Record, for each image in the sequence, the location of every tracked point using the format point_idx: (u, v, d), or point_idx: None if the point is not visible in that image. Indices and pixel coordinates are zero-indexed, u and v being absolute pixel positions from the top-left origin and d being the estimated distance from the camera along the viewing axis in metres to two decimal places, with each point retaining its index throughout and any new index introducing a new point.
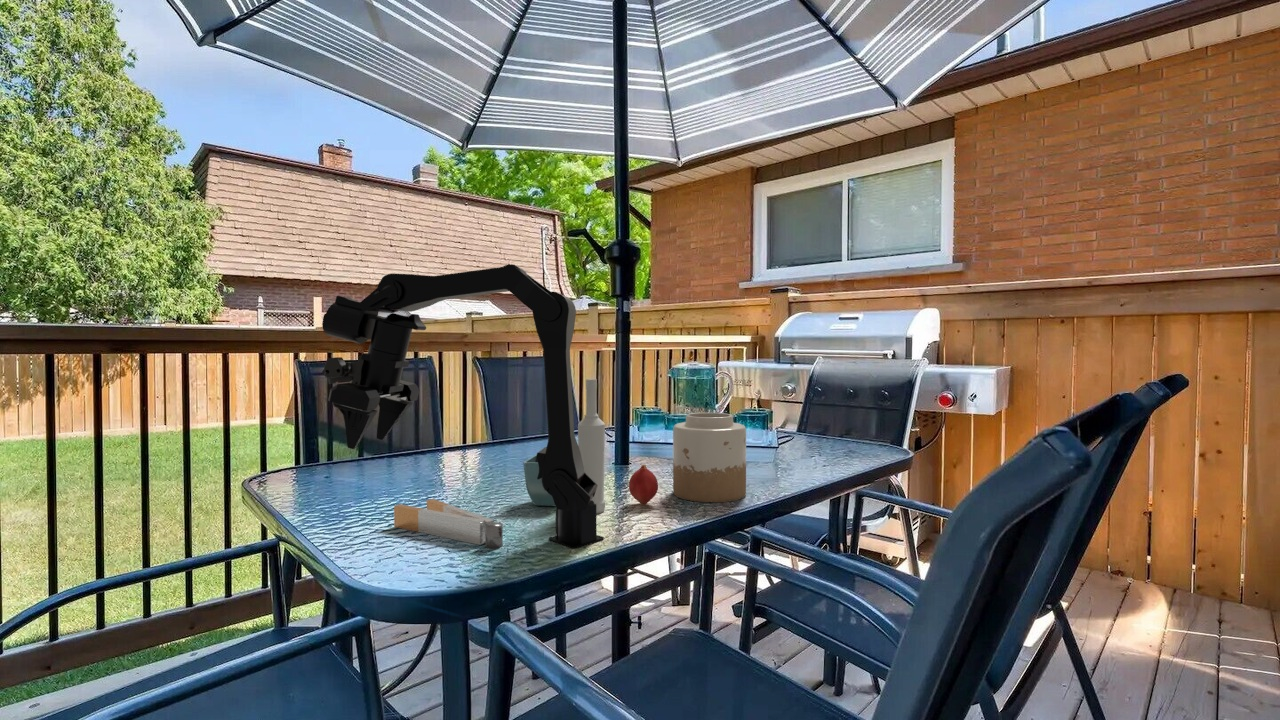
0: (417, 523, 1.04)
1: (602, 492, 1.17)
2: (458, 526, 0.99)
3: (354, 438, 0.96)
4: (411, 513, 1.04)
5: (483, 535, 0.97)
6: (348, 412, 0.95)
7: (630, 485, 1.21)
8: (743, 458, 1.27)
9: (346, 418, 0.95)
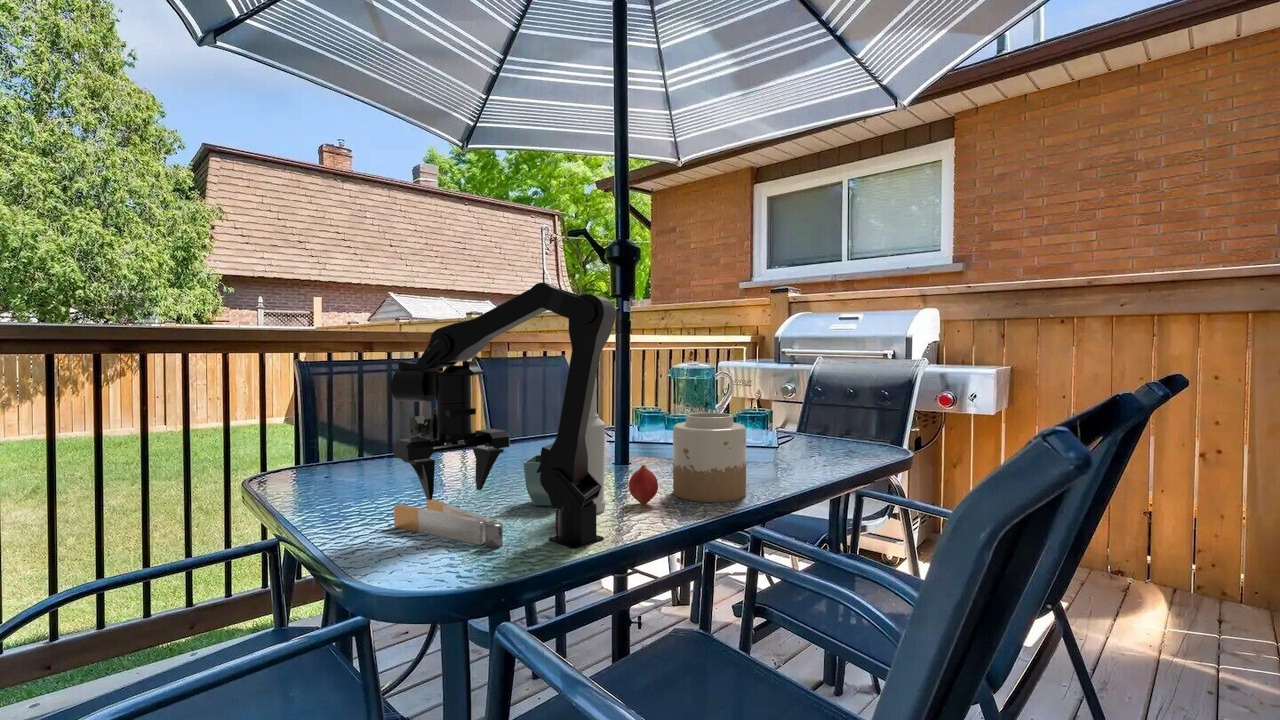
0: (417, 523, 1.04)
1: (602, 492, 1.17)
2: (458, 526, 0.99)
3: (426, 489, 1.00)
4: (411, 513, 1.04)
5: (483, 535, 0.97)
6: (416, 465, 1.01)
7: (630, 485, 1.21)
8: (743, 458, 1.27)
9: (416, 471, 1.01)
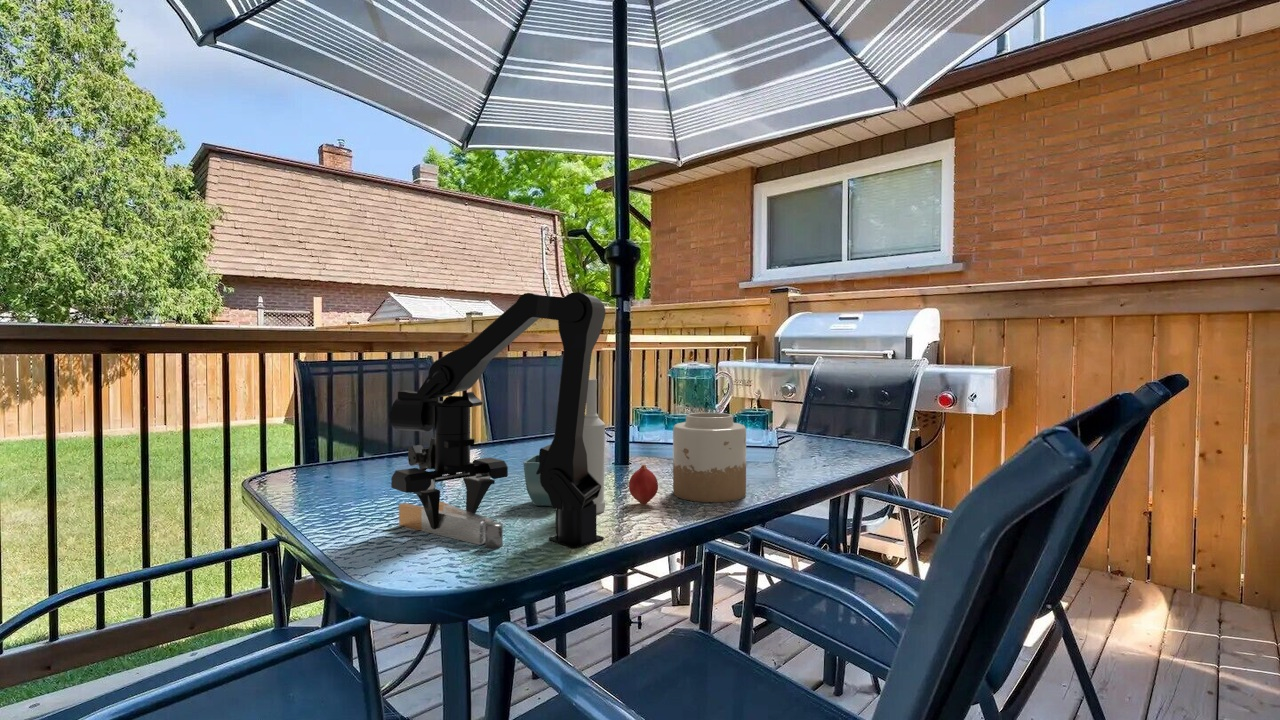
0: (420, 521, 1.05)
1: (602, 492, 1.17)
2: (459, 526, 0.99)
3: (431, 519, 1.01)
4: (415, 512, 1.05)
5: (483, 535, 0.97)
6: None
7: (630, 485, 1.21)
8: (743, 458, 1.27)
9: (422, 500, 1.02)
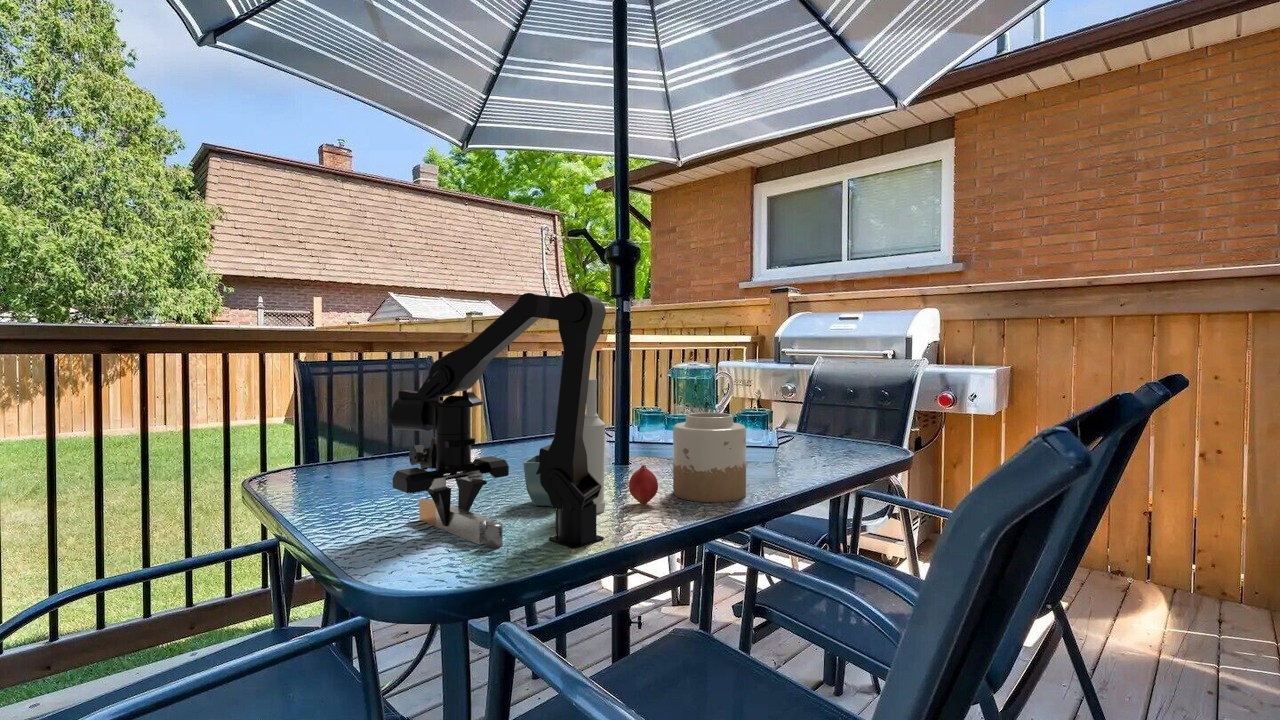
0: (434, 518, 1.07)
1: (602, 492, 1.17)
2: (463, 524, 1.00)
3: (442, 516, 1.03)
4: (431, 508, 1.08)
5: (483, 535, 0.97)
6: (433, 492, 1.03)
7: (630, 485, 1.21)
8: (743, 458, 1.27)
9: (433, 498, 1.03)
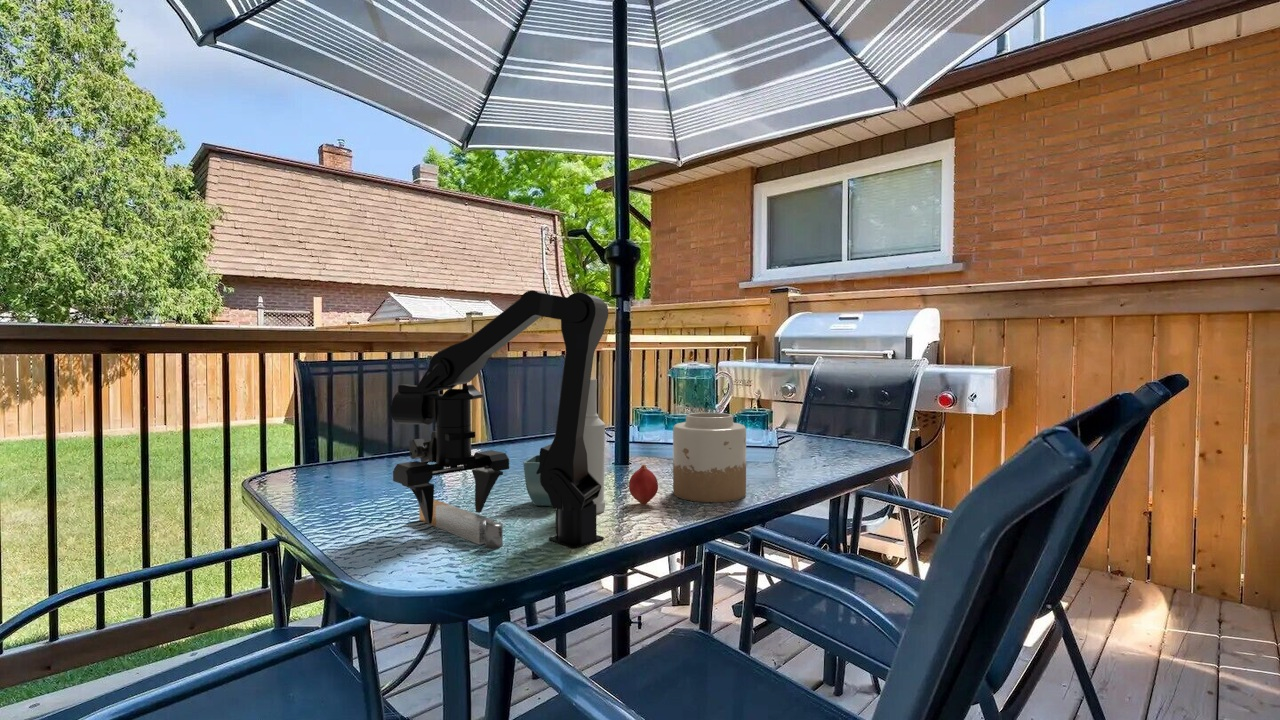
0: (434, 518, 1.07)
1: (602, 492, 1.17)
2: (463, 524, 1.00)
3: (426, 513, 1.01)
4: None
5: (483, 535, 0.97)
6: None
7: (630, 485, 1.21)
8: (743, 458, 1.27)
9: (416, 495, 1.01)
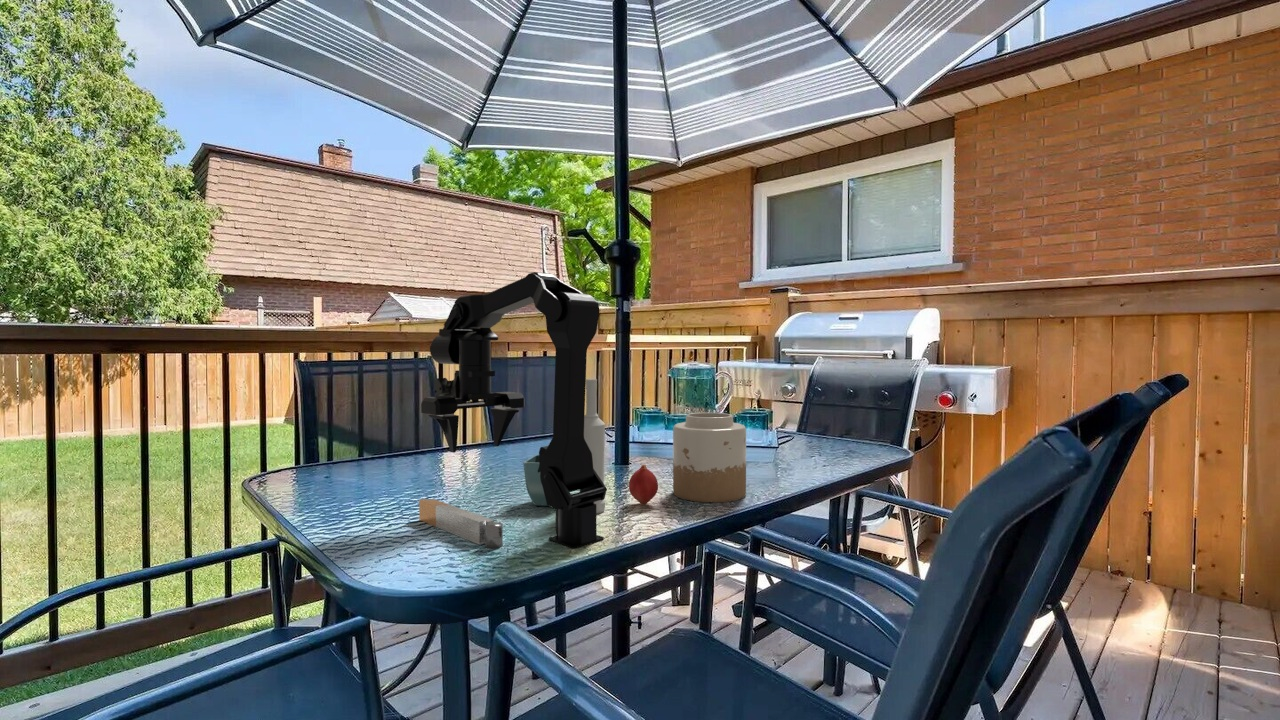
0: (434, 518, 1.07)
1: None
2: (463, 524, 1.00)
3: (450, 442, 1.11)
4: (431, 508, 1.08)
5: (483, 535, 0.97)
6: (441, 420, 1.11)
7: (630, 485, 1.21)
8: (743, 458, 1.27)
9: (441, 426, 1.11)
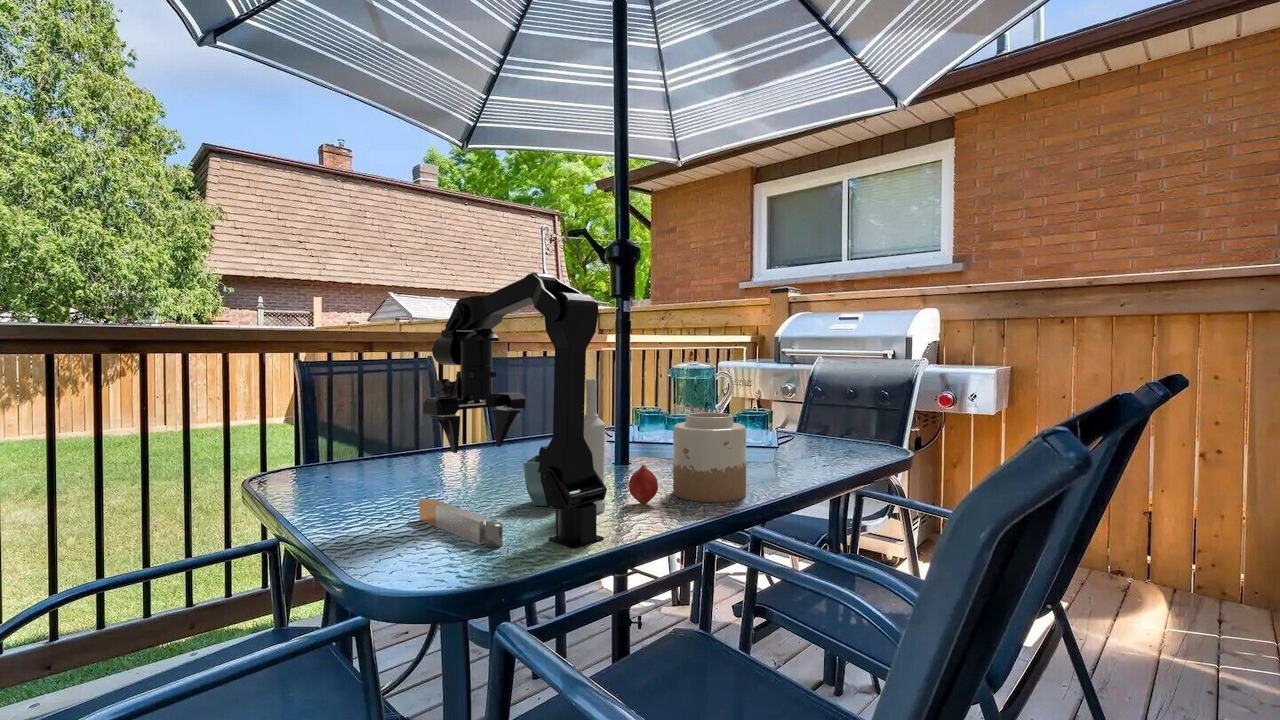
0: (434, 518, 1.07)
1: None
2: (463, 524, 1.00)
3: (452, 443, 1.11)
4: (431, 508, 1.08)
5: (483, 535, 0.97)
6: (443, 421, 1.12)
7: (630, 485, 1.21)
8: (743, 458, 1.27)
9: (443, 426, 1.12)
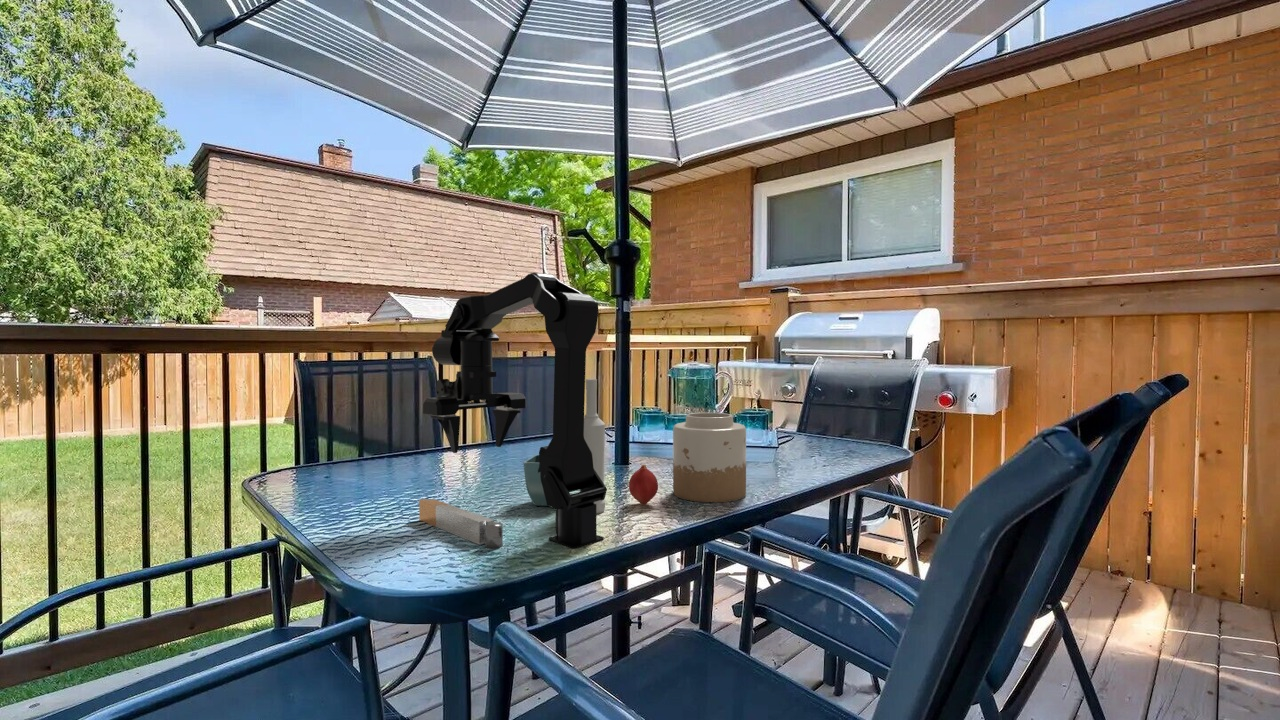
0: (434, 518, 1.07)
1: None
2: (463, 524, 1.00)
3: (452, 443, 1.11)
4: (431, 508, 1.08)
5: (483, 535, 0.97)
6: (443, 421, 1.12)
7: (630, 485, 1.21)
8: (743, 458, 1.27)
9: (443, 426, 1.12)
